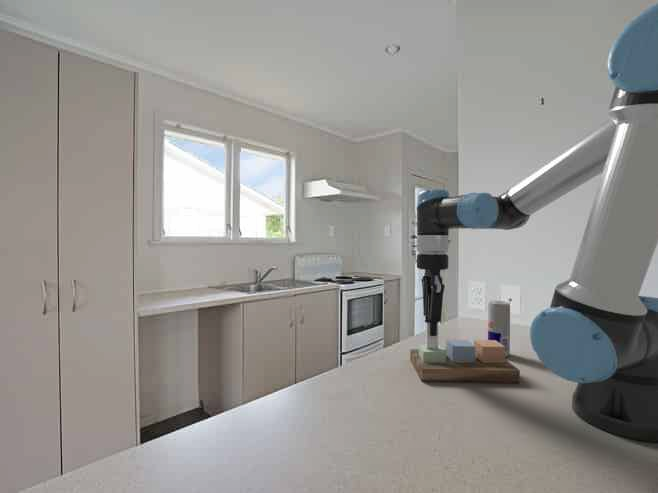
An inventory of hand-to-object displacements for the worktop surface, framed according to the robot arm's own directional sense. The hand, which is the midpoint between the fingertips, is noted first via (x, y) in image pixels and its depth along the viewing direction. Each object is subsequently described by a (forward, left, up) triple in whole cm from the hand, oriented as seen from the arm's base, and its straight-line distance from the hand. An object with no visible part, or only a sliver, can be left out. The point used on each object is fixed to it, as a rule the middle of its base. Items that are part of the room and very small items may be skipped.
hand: (431, 347), depth 86 cm
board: (0, -7, -6) cm, 9 cm away
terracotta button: (0, -14, -3) cm, 14 cm away
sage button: (0, 0, -4) cm, 4 cm away
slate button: (0, -7, -3) cm, 8 cm away
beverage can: (+13, -22, -6) cm, 26 cm away
